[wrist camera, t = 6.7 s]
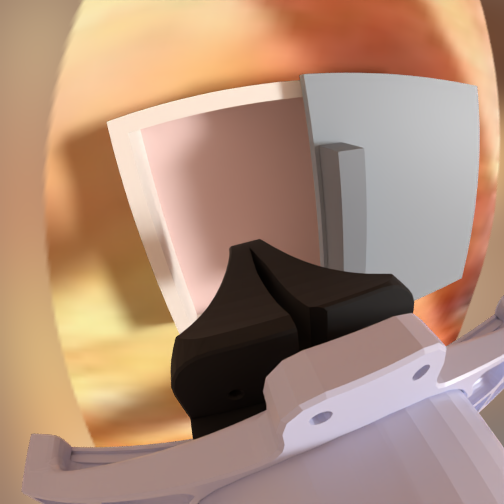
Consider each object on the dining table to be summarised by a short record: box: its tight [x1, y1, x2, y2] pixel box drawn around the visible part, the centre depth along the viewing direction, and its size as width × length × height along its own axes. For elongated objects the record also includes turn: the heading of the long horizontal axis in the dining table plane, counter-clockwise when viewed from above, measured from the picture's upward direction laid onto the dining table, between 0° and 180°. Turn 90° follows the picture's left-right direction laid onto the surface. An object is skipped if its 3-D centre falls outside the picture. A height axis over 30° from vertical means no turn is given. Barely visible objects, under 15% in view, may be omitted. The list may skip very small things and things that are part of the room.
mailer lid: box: [299, 73, 479, 301], centre depth 14 cm, size 14×12×2 cm
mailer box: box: [107, 80, 320, 334], centre depth 16 cm, size 14×12×4 cm
